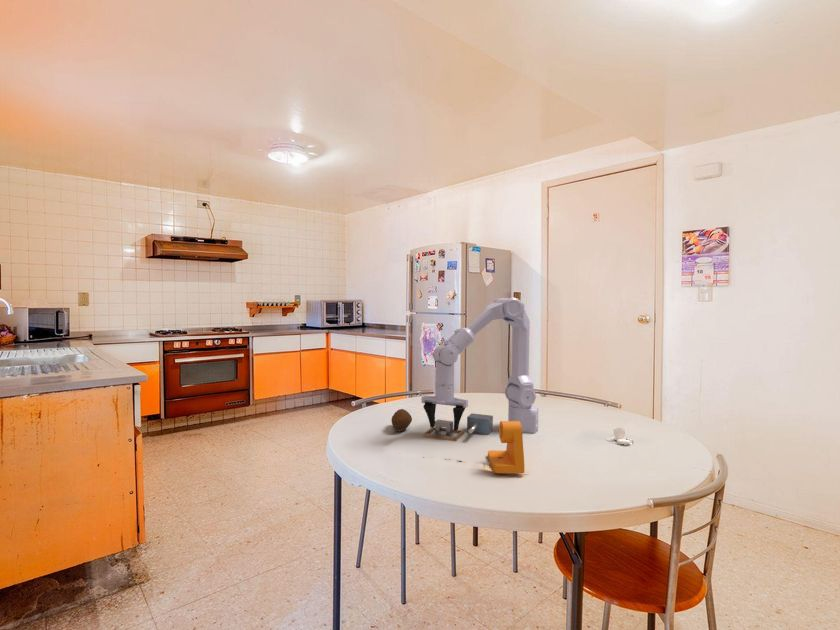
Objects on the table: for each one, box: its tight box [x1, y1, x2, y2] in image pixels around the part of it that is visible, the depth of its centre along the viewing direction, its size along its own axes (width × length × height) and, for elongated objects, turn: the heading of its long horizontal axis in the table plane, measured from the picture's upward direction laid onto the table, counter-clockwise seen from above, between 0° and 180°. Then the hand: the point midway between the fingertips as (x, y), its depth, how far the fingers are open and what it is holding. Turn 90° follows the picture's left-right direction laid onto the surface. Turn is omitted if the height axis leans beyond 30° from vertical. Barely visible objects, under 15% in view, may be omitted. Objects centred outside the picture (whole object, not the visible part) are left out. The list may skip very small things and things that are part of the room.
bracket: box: [487, 420, 525, 474], centre depth 111 cm, size 11×7×12 cm, turn 1°
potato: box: [391, 408, 413, 432], centre depth 143 cm, size 7×12×7 cm, turn 3°
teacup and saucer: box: [613, 427, 633, 446], centre depth 134 cm, size 9×8×4 cm
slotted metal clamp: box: [434, 419, 454, 437], centre depth 134 cm, size 5×2×5 cm, turn 66°
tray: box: [422, 426, 465, 442], centre depth 134 cm, size 10×8×2 cm
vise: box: [466, 412, 494, 435], centre depth 135 cm, size 7×15×6 cm, turn 157°
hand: (444, 428), depth 134 cm, fingers open, 7 cm apart
